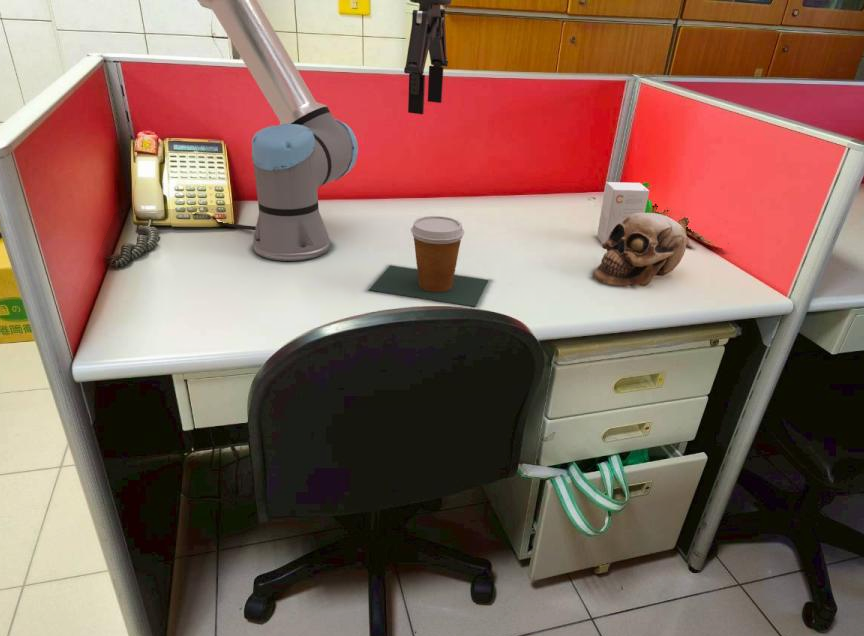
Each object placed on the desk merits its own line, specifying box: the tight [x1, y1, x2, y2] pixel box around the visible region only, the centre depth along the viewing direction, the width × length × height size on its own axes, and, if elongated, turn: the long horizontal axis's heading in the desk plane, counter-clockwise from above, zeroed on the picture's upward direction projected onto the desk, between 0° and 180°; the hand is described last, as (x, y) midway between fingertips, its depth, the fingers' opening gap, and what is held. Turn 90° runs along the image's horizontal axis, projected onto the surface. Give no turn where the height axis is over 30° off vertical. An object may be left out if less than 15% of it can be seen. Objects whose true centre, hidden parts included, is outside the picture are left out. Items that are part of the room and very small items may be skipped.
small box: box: [596, 181, 650, 245], centre depth 141 cm, size 8×6×13 cm
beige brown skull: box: [592, 212, 687, 287], centre depth 126 cm, size 16×17×13 cm
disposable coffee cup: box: [410, 215, 465, 292], centre depth 115 cm, size 10×10×12 cm
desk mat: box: [368, 265, 489, 308], centre depth 118 cm, size 20×12×1 cm, turn 77°
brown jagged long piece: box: [678, 217, 718, 249], centre depth 147 cm, size 9×5×18 cm
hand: (425, 107), depth 120 cm, fingers open, 13 cm apart
